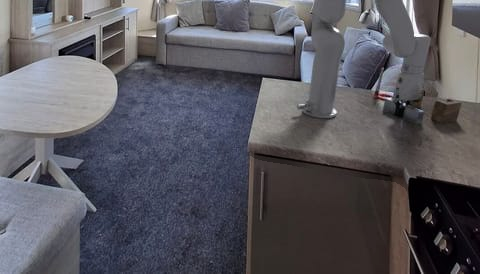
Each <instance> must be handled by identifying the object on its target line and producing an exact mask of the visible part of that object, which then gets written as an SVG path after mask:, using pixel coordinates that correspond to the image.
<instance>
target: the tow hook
mask: <svg viewBox="0 0 480 274" xmlns="http://www.w3.org/2000/svg"><path fill="white" fill-rule="evenodd" d="M384 70H385V68H384V67H382V68H381V70H380V73H379V76H378V79H377V80H378V81H377V84H376V87H375V91H374V94H373V99H379V100H382V101H385V98H386V97H387V98H392V97H393V94H390V93H387V92H380V89H381V83H382V79H383V75H384Z"/></svg>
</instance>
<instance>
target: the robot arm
mask: <svg viewBox="0 0 480 274" xmlns="http://www.w3.org/2000/svg"><path fill="white" fill-rule="evenodd" d="M346 2H347V0H315V1H314V3H313V7H312V15H311V16H312V17H311V35H310V36H311V37H310V38H311V42H312V44H313V46H314V47H315V53H314V57H313V62H312V67H311V68H312V69H311V78H310V84H309V85H310V87H309V92H308V93H309V94H308V99H306V100H305V102H304V103H300V104H297V105H296V109H297V110H302V112H303V113H304V114H305V115H307V116H309V117H313V118H316V119H331V118H334V117H337V110H336V109H335V108H334V105H335V100H336V99H335V98H336V92H337V87H338V86H337V85H338V80H339V79H338V78H339V73H340V67H341V66H340V65H341V61H342V59H343V54H344V51H345V46H346V45H345V43H346V42H345V37H344V34H343V33H342V32H341V31H340V30H339V29H338V23H339V22H341V21H342V19H343V18H344V17H345V13H346ZM374 4H375V9H376V11H377V12H378V14H379V16H380V17H381V18H382V19H383V20H384V22H385V23H386V25H387V28H388V31H389V33H387V34H386V35H385V36H384V37H383V39H382V46H383V49H384V50H385V51H386V52H388V53H390V54H391V55H394V56H395V57H397V58H400V59H402V63H401V68H400V72H399V74H398V77H397V79H396V82H395V84H394V88H393V94H392V95H393V97H392V99H391V101H393V102H394V103H395V106H396V108H395V113H394V114H393V116H394V117H395V118H396V117H397V118H398V119H402V118H401V117H402V113H403V108H402V107H403V104H404V101H406V102H405V104H408V105H410V106H413V103H414V102H415V101H416V100H417V99H419V98H420V97H421V93H422V89H424V88H423V87H424V80H425V78H424V77H425V74H424V69H425V65H426V61H427V58H428V53H429V50H430V45H431V41H432V39H431V37H430V35H428V34H427V35H426V34H422V33H415V31H414V30H415V29H414V25H413V21H412V19H411V17H410V15H409V13H408V11H407V7H406V5H405V4H404V0H374ZM399 101H401V103H400V102H399Z"/></svg>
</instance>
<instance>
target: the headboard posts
mask: <svg viewBox="0 0 480 274" xmlns="http://www.w3.org/2000/svg"><path fill="white" fill-rule="evenodd" d="M425 90H426V89H424V88H422V93H421V97H420V98H419V99H417V100H416V101H415V102H414V103H413V107H415V108H420V107H421V106H422V101H423V98H424V94H425ZM400 102H401V101H400ZM405 102H406V101H404V103H405ZM462 104H463V102H461V101H459V100H456V99H453V98H451V97H450V98H446V101H443V100H440V99H436V100H435V101H434V106H433V109H432V113H431V117H430V120H432V121H434V122H437V123H439V124H448V123H454V122H457V121H458V116H459V115H460V110H461V106H462Z"/></svg>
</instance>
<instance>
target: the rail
mask: <svg viewBox="0 0 480 274" xmlns="http://www.w3.org/2000/svg"><path fill="white" fill-rule="evenodd" d="M384 98H385V100H384V102H383V108H382V110H383V111H385V112H387V113H390V114H392V115H394V113H395V108H396V106H395V103H394V102H393V101H391V99H392V98H391V97H384ZM399 102H400V101H399ZM400 103H401V102H400ZM402 108H403V113H402V117H401V118H400V119H402V120H405V121H407V122H409V123H411V124H414V125H421V124H422V123H423V119H424V116H425V110H422V109H419V108H418V107H413V106H410V105H408V104H405V103H404V104H403V107H402Z"/></svg>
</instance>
